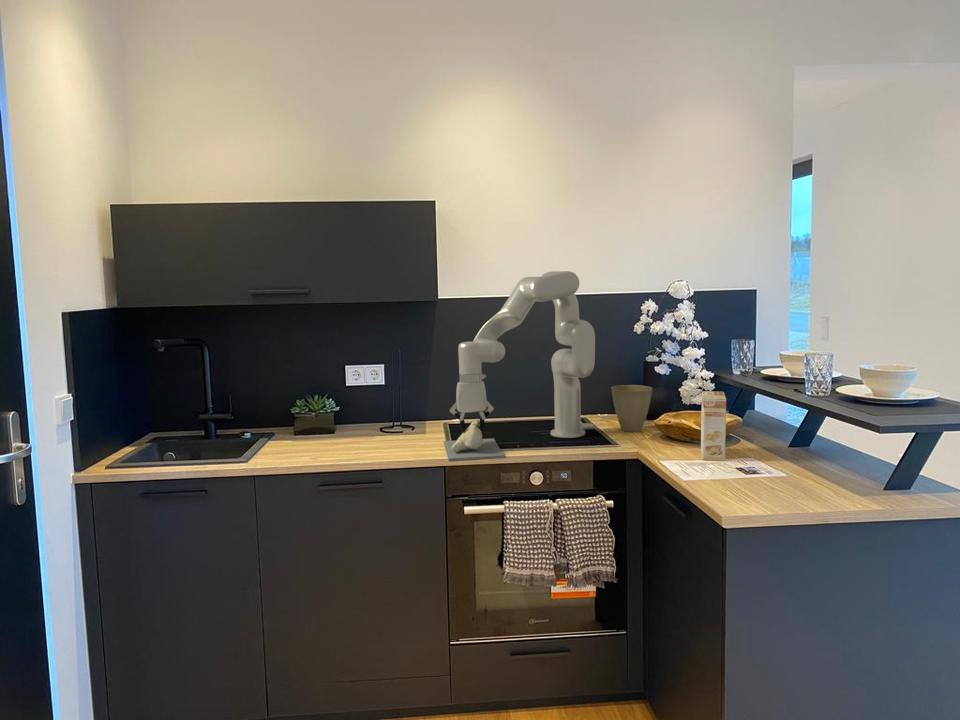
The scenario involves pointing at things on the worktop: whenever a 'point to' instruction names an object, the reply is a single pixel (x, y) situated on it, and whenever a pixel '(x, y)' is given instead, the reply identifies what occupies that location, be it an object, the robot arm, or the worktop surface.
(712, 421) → the coffeecake box
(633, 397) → the plant pot
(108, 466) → the worktop surface
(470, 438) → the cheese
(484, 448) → the mat
